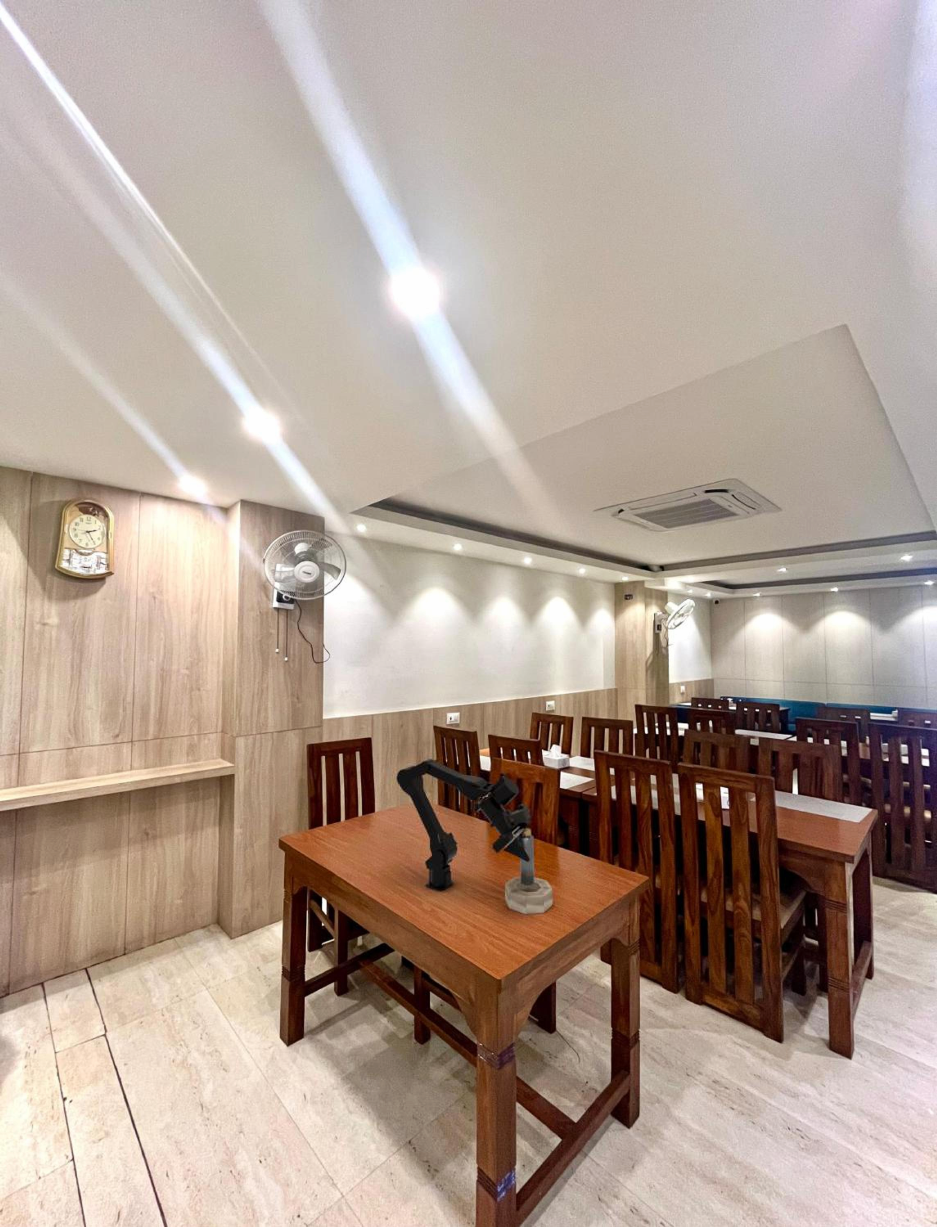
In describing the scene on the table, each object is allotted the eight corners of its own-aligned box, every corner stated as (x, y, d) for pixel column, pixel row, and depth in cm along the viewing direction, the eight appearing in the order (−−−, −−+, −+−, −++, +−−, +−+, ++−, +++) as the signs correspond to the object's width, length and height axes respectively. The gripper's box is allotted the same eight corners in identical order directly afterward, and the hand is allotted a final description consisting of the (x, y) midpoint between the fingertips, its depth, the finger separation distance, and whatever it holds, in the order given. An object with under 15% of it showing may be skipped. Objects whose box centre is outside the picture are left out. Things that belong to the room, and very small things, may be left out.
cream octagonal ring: (498, 904, 147) (498, 889, 148) (520, 887, 158) (520, 873, 158) (538, 918, 140) (537, 901, 140) (558, 899, 150) (557, 883, 151)
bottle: (520, 884, 146) (520, 832, 147) (520, 878, 150) (519, 827, 151) (534, 885, 146) (533, 832, 147) (533, 879, 150) (533, 827, 151)
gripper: (502, 806, 143) (539, 852, 137) (524, 790, 160) (558, 830, 154) (477, 830, 146) (513, 877, 140) (501, 812, 163) (534, 852, 157)
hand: (531, 858), depth 148 cm, fingers closed on bottle, 4 cm apart
